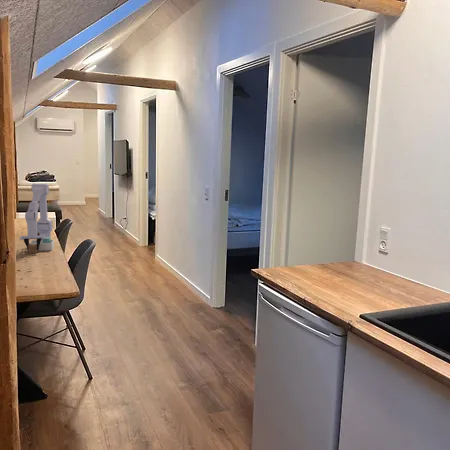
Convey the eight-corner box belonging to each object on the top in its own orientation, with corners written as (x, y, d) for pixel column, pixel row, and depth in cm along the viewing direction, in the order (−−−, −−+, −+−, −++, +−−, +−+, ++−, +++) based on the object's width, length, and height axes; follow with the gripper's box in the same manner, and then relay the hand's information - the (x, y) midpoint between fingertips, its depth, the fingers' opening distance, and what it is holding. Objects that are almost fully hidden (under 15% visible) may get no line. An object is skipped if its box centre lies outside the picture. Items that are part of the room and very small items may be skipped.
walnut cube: (29, 251, 292) (29, 244, 292) (38, 251, 294) (37, 243, 293) (28, 253, 288) (28, 245, 287) (36, 253, 289) (36, 245, 288)
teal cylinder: (51, 247, 305) (50, 237, 303) (50, 248, 300) (50, 238, 299) (43, 247, 303) (42, 237, 302) (42, 249, 298) (42, 238, 297)
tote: (32, 247, 305) (32, 240, 304) (54, 246, 308) (54, 239, 307) (29, 251, 294) (29, 243, 293) (52, 250, 297) (51, 243, 296)
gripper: (18, 230, 283) (19, 251, 285) (43, 230, 286) (44, 251, 288) (21, 229, 289) (22, 249, 292) (44, 228, 293) (45, 248, 295)
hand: (33, 250), depth 290 cm, fingers closed on walnut cube, 5 cm apart
